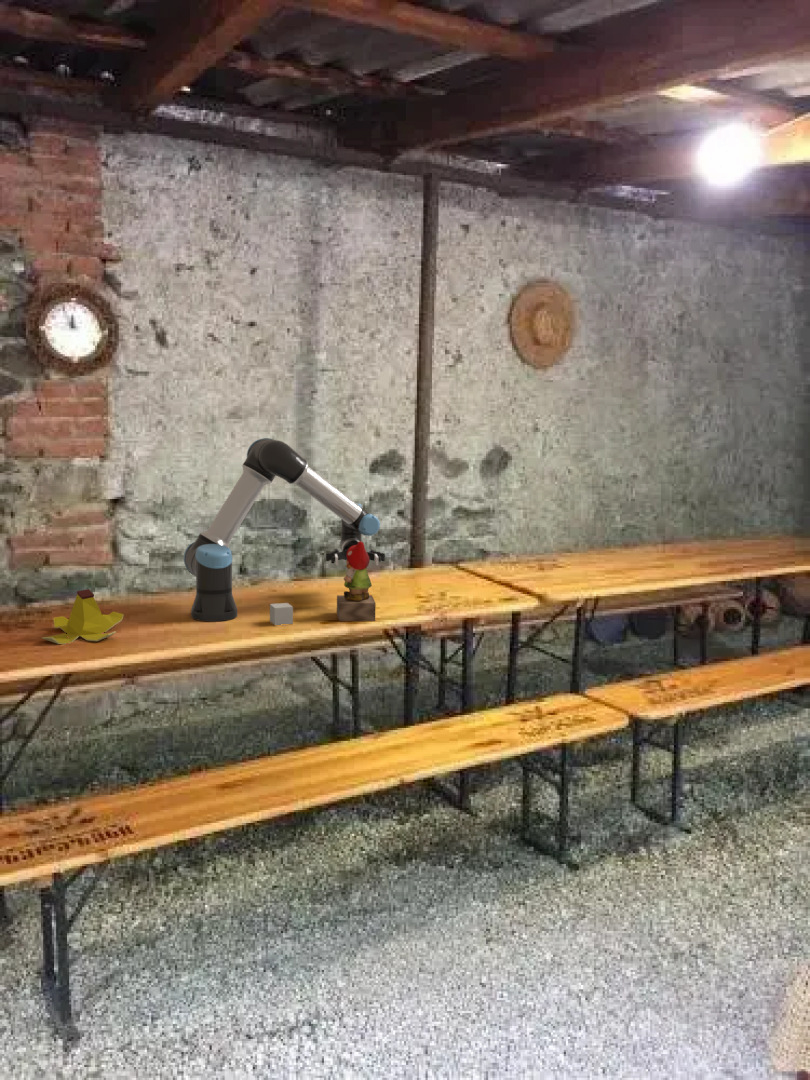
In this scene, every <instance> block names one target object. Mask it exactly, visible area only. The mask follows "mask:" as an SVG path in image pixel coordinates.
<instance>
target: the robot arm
mask: <svg viewBox="0 0 810 1080" xmlns="http://www.w3.org/2000/svg"><path fill="white" fill-rule="evenodd" d="M308 463H309V462H308V461H307V460H306V459H304V458H303V457H302V456H301V455H300V454H299V453H298V452H296V451H295V450H294V448H292V447H291V446H290V445H288V444H287V443H286V442H284V441H281V440H277V439H273V438H270V437H269V438H268V437H266V438H264V437H263V438H258V439H257V440H254V442H252V443H251V444H250V445H249V447H248V449H247V453H246V459H245V460H244V462H243V464H242V465H241V467H242V471H243V472H242V474H241V475H240V477H239V478H238V480H237V481H236V483H235V484H234V487H233V488H232V490H231V491H230V493H229V495H228V497H227V498H226V499H225V501H224V503H223V504H222V506H221V508H220V509H219V511H218V512H217V514H216V516H215V517H214V519H213V521H212V522H211V524H210V525H209V527H208V529H207V530H206V531H203V532H200V533H199V534H198V536H197V538H196V540H195V541H194V542H191V543H190V544H189V545H188V546H187V548H186V549H185V551H184V554H183V563H184V566H185V568H186V569H187V571H188V572H189V573H190V574H191V575H193V576H194V577H195V579H196V581H195V582H196V583H195V584H196V585H195V588H196V593H195V598H194V600H193V603H192V607H191V609H190V617H191V619H194V620H197V621H203V622H223V621H229V620H233V619H235V617H236V618H237V617H238V607H237V604H236V602H235V598H234V596H233V553H232V550H231V548H230V545H229V544H230V543H231V541H232V540H233V538H234V536H235V534H236V533H237V531H238V530H239V528H240V526H241V525H242V523H243V521H244V520H245V518H246V516H247V515H248V513H249V511H250V510H251V508H252V507H253V505H254V504H255V503H256V501H257V498H258V497H259V495H261V494H260V493H261V492H262V490H263V489H264V487H265V486H266V485H271V483H273V480H274V479H275V478H276V477H279V478H280V479H283V480H284V481H286V482H287V483H288V484H290V485H293V484H295V486H298V488H300V489H301V490H303V491H304V492H305V493H306V494H308V495H309V496H310V497H311V498H313V499H315V500H316V501H317V502H318V503H319V504H321V505H322V506H324V507H325V508H326V509H328V510H329V511H330V512H331V513H333V514H334V515H336V516H337V517H338V518H339V519H340V521H341V522H340V524H341V525H340V529H341V531H340V541H339V546H340V547H339V548H340V550H341V551H340V550H339V549H338V548H334V550H332V551H330V552H326V553H325V561H326V562H329V561H330V563H331V564H334V565H335V566H339V561H341V560H343V561H344V560H345V561H346V560H347V556H346V555H347V551H348V549H349V548H350V547H351V546H354V545H357V544H358V543H359V542H360V541H361V542H362V535H363V536H365V537H366V536H369V537H370V536H374V535H376V534H377V533H378V531H379V530H380V527H381V522H380V520H379V518H378V517H377V516H375V515H374V514H372V513H370V512H368V511H367V510H365V509H364V508H363V506H362V504H361V503H357V502H355V501H354V500H353V499H351V498H350V497H349V496H347V495H346V494H345V493H344V492H342V491H341V490H340V489H339V488H337V487H336V486H334V485H333V484H332V483H331V482H330V481H328V480H327V479H325V478H324V477H323V476H322V475H320V474H319V473H317V471H315V470H314V469H312V468H311V467H310V466H309V464H308ZM366 552H367V553H368V556H369V559H370V561H374V564H375V566H379V563H380V562H386V561H385V560H386V554H385V553H383V552H381V551H376V550H374V549H369V551H367V550H366Z"/></svg>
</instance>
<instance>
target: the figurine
mask: <svg viewBox="0 0 810 1080" xmlns="http://www.w3.org/2000/svg"><path fill="white" fill-rule="evenodd" d="M366 551H367V549H366V548H365V544H364V542H363V541H362V540H361V541H360V542H359V543H358V544H357V545H354V546H351V547H350V548H349V549H348V551H347V555H346V556H347V560H345V563H346V565H345V567H346V568H347V571H346V573H345V576H344V577H343V581H344V583H343V585H344V587H345V588H347V589H348V591H347V590H345V591H343V595H344V598H345V599H346V600H353V601H360V600H363V599H369V595H370V593H369V589H370V588H372V587H373V585H372V582H371V579H370V576H369V575H370V574H369V572H368V567H369V564H370V561H371V560H370V559H369V556H368V553H367V552H368V551H367V552H366Z"/></svg>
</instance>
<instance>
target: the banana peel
mask: <svg viewBox="0 0 810 1080" xmlns="http://www.w3.org/2000/svg"><path fill="white" fill-rule="evenodd" d="M76 594H77V595H76V596H75V599H74V602H73V606H72V608H71V612H70V615H69V618H67V617H65V616H64V615H61V616H57V617H53V618H52V619H53V625H54V626H53V627H54V629H61V630H62V631H63V632H64V633H61V634H55V635H51V636H41V639H43V640H45V641H49V642H52V643H54V644H57V645H59V644H63V645H67V644H66V643H69V644H72V643H73V642H74V641H76V640H77V639H78V638H79V637H81V638H82V639H84V640H86V641H88V642H99V641H101V640H103V639H106V638H109V637H111V636H113V635H114V634H116V633H117V631H116V630H115V631H112V632H110V633H106V632H108V631H109V630H110V629H112V628H113V627H114V626H116V625H117V624H119V623H120V622H121V621H123V618H124V615H125V614H124V613H121V612H116V611H112V612H111V613H109V614H102V612H101V611H102V610H101V609H100V607H99V605H98V603H97V601H96V599H95V597H94V596H95V594H94V593H93V592H92V591H91V590H90V589H89V588H88V589H83V590H82V589H81V590H78V591H76ZM103 632H105V633H104V634H101V633H103ZM66 633H67V634H66ZM67 636H68V637H69V638H68V637H67ZM69 641H70V642H69ZM71 642H72V643H71Z"/></svg>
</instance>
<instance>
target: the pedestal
mask: <svg viewBox="0 0 810 1080" xmlns="http://www.w3.org/2000/svg"><path fill="white" fill-rule="evenodd" d="M376 605H377V604H376V601H375V599H374V597H373V595H372V594H369V599H363V600H360V601H353V600H346V599H345V598H344V594H343V595H342V594H341V595H340V594H339V595H336V615H337V618H338V621H339V622H365V621H366V622H369V621H371V622H372V621H373V622H375V621H376Z"/></svg>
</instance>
